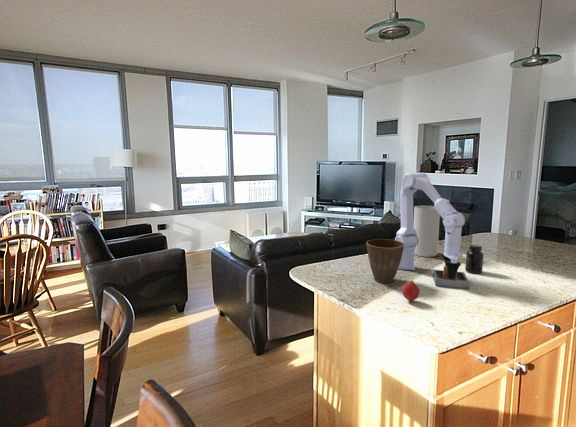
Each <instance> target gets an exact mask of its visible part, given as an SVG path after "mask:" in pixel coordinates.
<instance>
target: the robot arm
mask: <svg viewBox="0 0 576 427" xmlns="http://www.w3.org/2000/svg"><path fill="white" fill-rule="evenodd" d="M400 186H401V187H400V189H399V190H400V196H399V197H400V228H399V230H397V232H395V233H396V236H395V237H394V240H396V241H400V242H402V243H404V248H403V253H402V258H401V261H400V265H399V268H398V270H406V271H407V270H408V271H416V266H415V254H414V252H415V249H416V246H417V245H418V243H419V239H418V236H417V231H416V230H415V229H414V228H413V225H414V194H415V192H417V191H418V190H420V191H422V192H424V194H426V196H427V197H428V198H429V199H430V200H431V201H432V202H433V204H434V205H433V206H434V208H435V209H436V211H437V212H438V213H439V214H440V218H442V219H443V220H442V224H443V226H444V231H445V236H444V247H443V248H444V250H443V255H442V258H443V260H444V266H447V269H448V277H449V279H455V276H456V273H457V272H458V269H460V266H461V265H462V262H459V261H458V259H459V258H460V257H464V255H463V253H460V252H461V241H462V240H461V239H462V228H463V226H464V225H465V223H466V217H465V215H464V213H461V212H459V211H458V210H456V209H455V208H454V207H453V205H452V204H451V203H450V200H449V199H446V198H442V196H441V195H440V194H439V193H438V191H437V190H436V188H435V187H434V185H433V184H432V183H431V178H430V177H429V176H428V175H427V173H425V172H415V173H414V172H408V173H406V174H404V175H403V176H402V177H401V185H400Z"/></svg>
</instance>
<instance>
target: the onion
mask: <svg viewBox="0 0 576 427" xmlns="http://www.w3.org/2000/svg"><path fill="white" fill-rule="evenodd" d="M401 292H402V295H403V297H404V298H405V299H406V300H407V301H408V302H411V303H412V302H414V301H415V300H416V299H418V298H419V297H420V292H421V291H420V288H419V286H418V285H417V284H416V283H415V282H414V280H411V279H410V281H409V282H406V283H405V284H404V285H403V287H402V289H401Z"/></svg>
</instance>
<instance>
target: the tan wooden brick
mask: <svg viewBox="0 0 576 427" xmlns="http://www.w3.org/2000/svg"><path fill="white" fill-rule="evenodd" d="M442 271H443V279H444V277H447V278H449V277H448V269H447V266H445V265H443V270H442ZM455 278H457V273H456V276H455Z"/></svg>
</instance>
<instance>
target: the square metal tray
mask: <svg viewBox="0 0 576 427" xmlns="http://www.w3.org/2000/svg"><path fill="white" fill-rule="evenodd" d="M432 279H433V283H434V285H435V287H442V288H444V287H445V288H452V289H453V288H454V289H463V290H469V288H470V280H469V279H468V277H467V275H466V274H465V272H464V271H457V278H455V279H449V278H447V277H444V279H443V270H440V269H433V270H432Z"/></svg>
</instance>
